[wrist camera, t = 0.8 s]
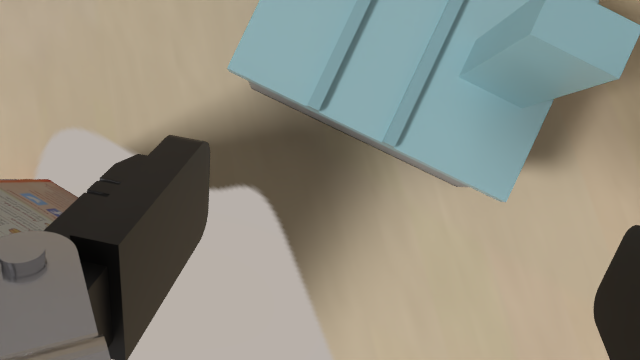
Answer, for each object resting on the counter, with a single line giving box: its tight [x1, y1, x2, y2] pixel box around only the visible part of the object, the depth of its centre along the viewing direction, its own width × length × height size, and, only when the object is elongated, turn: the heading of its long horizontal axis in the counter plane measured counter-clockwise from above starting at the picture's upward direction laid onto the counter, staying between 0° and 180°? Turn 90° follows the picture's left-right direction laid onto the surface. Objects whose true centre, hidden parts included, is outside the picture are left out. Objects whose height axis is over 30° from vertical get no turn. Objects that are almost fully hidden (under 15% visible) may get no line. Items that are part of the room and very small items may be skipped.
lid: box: [227, 0, 640, 202], centre depth 23 cm, size 15×11×9 cm
